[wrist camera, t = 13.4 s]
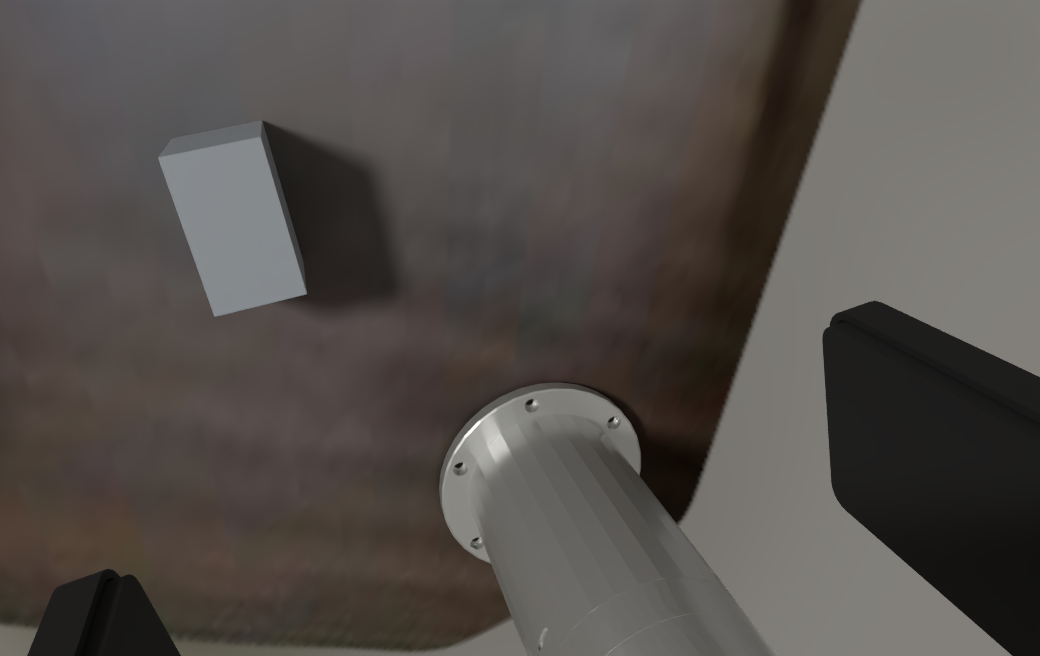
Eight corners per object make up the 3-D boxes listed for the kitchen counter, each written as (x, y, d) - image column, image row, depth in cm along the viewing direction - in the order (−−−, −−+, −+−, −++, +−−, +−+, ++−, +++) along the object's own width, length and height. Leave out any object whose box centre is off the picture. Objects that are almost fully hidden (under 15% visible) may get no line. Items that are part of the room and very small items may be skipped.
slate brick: (303, 260, 39) (306, 294, 34) (221, 280, 38) (214, 316, 34) (262, 120, 36) (260, 136, 31) (172, 137, 35) (158, 157, 31)
